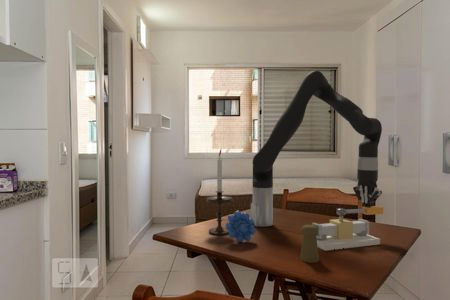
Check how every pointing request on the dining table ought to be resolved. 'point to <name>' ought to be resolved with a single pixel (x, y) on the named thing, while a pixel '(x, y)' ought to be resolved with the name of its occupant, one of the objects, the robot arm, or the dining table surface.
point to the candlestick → (219, 201)
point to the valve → (344, 234)
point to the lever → (362, 210)
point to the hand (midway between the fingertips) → (366, 212)
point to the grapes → (240, 226)
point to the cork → (309, 244)
